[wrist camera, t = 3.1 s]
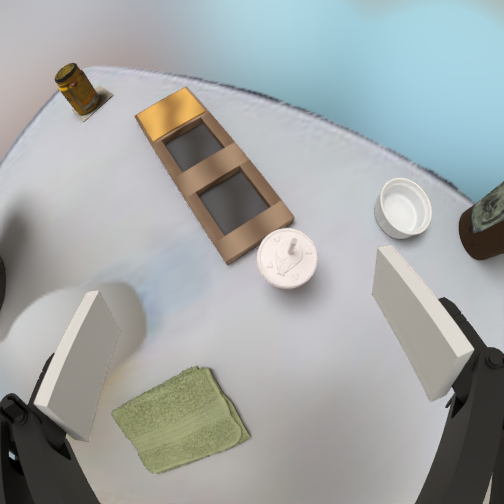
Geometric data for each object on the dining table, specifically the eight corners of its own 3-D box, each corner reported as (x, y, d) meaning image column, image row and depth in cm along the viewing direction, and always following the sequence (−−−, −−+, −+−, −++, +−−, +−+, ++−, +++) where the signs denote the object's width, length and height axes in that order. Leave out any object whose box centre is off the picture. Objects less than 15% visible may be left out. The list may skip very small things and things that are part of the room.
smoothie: (311, 260, 39) (336, 228, 25) (294, 303, 38) (312, 294, 24) (268, 242, 40) (272, 202, 26) (250, 285, 39) (243, 265, 25)
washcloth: (255, 433, 34) (255, 442, 31) (157, 472, 32) (150, 480, 29) (206, 357, 37) (201, 361, 34) (112, 403, 35) (102, 408, 32)
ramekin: (375, 244, 39) (387, 235, 35) (365, 189, 41) (374, 176, 37) (423, 241, 39) (437, 233, 35) (412, 189, 41) (423, 178, 37)
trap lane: (227, 264, 39) (225, 261, 37) (137, 122, 46) (133, 115, 44) (293, 221, 40) (294, 216, 38) (188, 93, 47) (186, 85, 45)
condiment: (72, 110, 49) (47, 78, 37) (100, 86, 50) (79, 51, 38) (84, 122, 48) (57, 87, 36) (113, 95, 49) (91, 58, 37)
